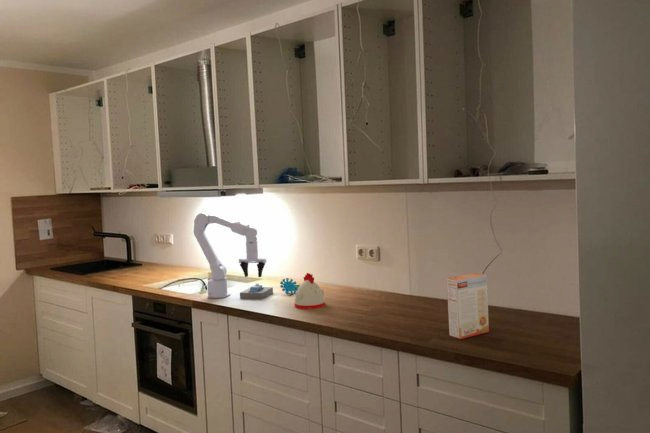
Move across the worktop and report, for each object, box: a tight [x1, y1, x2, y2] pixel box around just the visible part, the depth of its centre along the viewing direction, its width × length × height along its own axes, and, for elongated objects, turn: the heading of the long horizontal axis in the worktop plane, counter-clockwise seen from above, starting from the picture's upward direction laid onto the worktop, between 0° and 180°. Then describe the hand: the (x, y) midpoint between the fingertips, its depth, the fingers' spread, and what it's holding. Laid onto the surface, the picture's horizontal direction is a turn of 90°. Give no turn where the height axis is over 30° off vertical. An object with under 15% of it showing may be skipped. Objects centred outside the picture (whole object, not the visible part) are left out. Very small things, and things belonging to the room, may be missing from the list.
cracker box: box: [446, 272, 490, 340], centre depth 183 cm, size 14×6×21 cm, turn 118°
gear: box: [279, 277, 301, 295], centre depth 268 cm, size 11×6×10 cm
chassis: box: [239, 286, 274, 300], centre depth 264 cm, size 12×14×3 cm
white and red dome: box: [294, 272, 326, 310], centre depth 238 cm, size 14×14×15 cm
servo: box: [249, 282, 265, 292], centre depth 264 cm, size 4×10×6 cm, turn 163°
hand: (253, 276), depth 267 cm, fingers open, 7 cm apart
